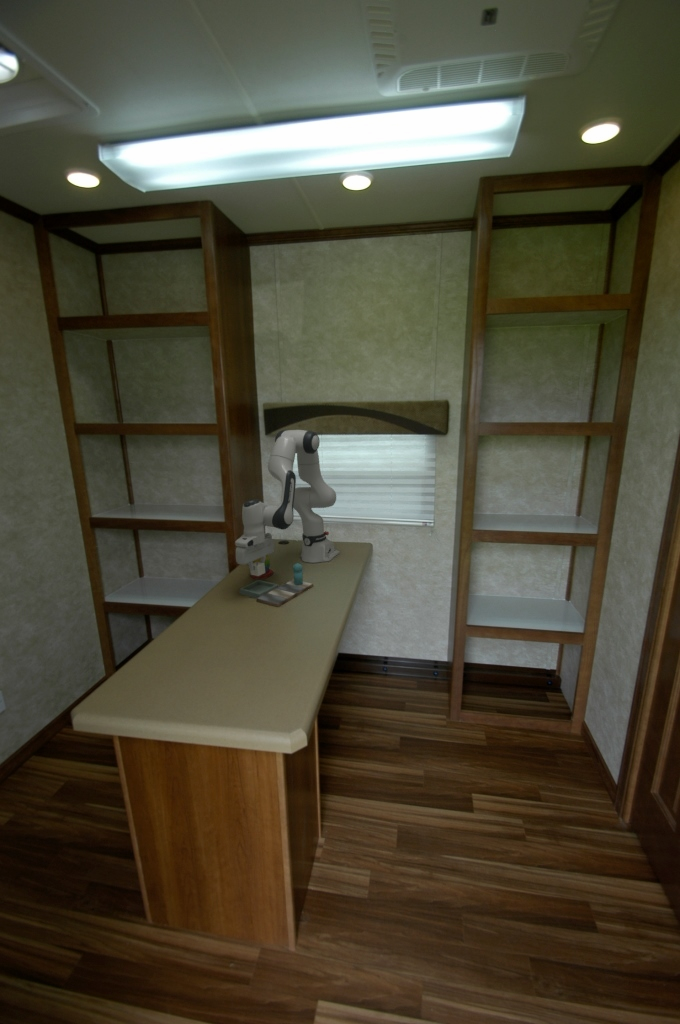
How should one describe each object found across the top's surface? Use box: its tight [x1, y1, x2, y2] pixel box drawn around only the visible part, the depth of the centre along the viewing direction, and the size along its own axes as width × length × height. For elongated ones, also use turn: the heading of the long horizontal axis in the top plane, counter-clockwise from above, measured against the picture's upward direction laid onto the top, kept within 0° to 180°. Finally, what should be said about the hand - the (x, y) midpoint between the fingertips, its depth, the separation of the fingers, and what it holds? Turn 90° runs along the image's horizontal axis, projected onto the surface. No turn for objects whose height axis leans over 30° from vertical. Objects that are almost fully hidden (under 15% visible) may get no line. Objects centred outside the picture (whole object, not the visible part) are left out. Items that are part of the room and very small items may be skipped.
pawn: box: [292, 563, 304, 585], centre depth 192 cm, size 4×4×10 cm
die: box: [249, 562, 265, 576], centre depth 187 cm, size 4×4×5 cm
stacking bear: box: [250, 554, 275, 580], centre depth 207 cm, size 11×10×18 cm
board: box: [255, 578, 314, 608], centre depth 186 cm, size 24×12×1 cm, turn 147°
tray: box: [238, 579, 279, 600], centre depth 189 cm, size 12×12×2 cm
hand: (257, 568), depth 187 cm, fingers closed on die, 4 cm apart
